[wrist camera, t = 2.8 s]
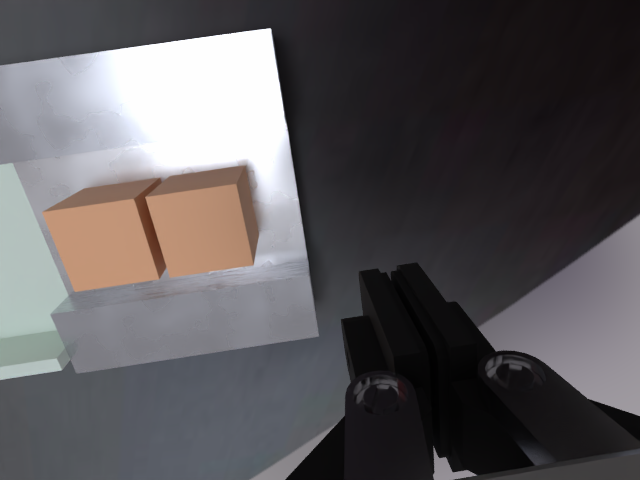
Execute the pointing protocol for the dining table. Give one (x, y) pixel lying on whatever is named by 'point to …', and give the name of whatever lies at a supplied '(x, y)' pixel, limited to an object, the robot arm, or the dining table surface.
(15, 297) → the tray
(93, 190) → the chip
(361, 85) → the dining table surface
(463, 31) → the dining table surface
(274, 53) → the slotted block
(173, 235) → the chip
